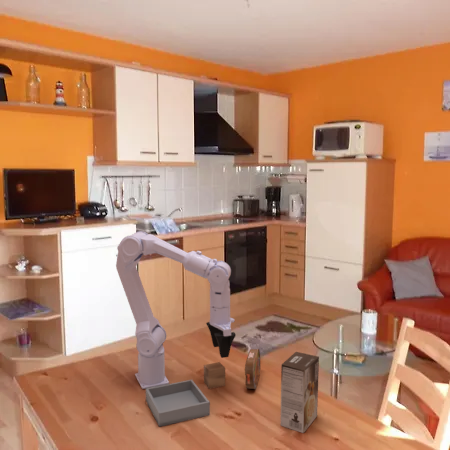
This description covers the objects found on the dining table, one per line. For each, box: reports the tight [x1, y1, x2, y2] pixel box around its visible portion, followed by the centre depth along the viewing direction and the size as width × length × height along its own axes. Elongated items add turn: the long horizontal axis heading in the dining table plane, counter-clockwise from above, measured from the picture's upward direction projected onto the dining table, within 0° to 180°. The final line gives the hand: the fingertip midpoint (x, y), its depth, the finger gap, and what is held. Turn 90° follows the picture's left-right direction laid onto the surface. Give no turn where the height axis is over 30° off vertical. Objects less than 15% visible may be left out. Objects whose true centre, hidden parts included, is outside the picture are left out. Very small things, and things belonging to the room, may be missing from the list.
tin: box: [244, 348, 261, 390], centre depth 131 cm, size 15×3×8 cm, turn 168°
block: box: [203, 361, 226, 390], centre depth 130 cm, size 4×5×6 cm
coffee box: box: [280, 351, 320, 434], centre depth 111 cm, size 9×6×16 cm
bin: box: [145, 379, 211, 428], centre depth 117 cm, size 13×13×4 cm
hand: (220, 351), depth 128 cm, fingers open, 7 cm apart
